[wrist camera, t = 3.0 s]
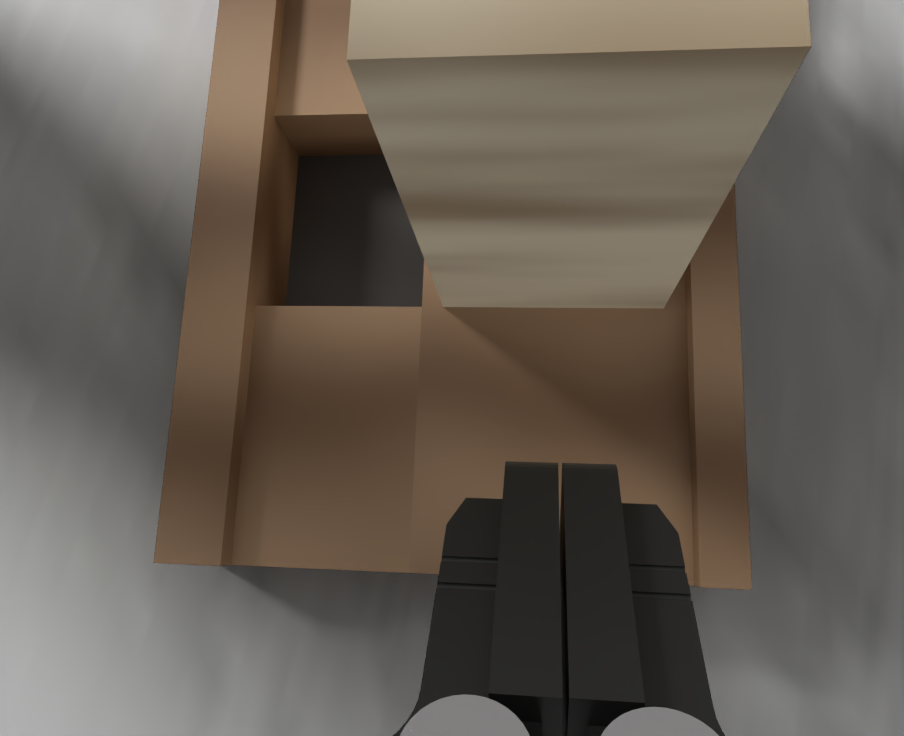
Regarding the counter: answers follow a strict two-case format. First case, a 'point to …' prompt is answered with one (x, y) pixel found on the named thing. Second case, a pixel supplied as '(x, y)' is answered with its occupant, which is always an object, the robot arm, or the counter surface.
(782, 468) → the counter surface
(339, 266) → the trap deck
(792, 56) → the maple block
